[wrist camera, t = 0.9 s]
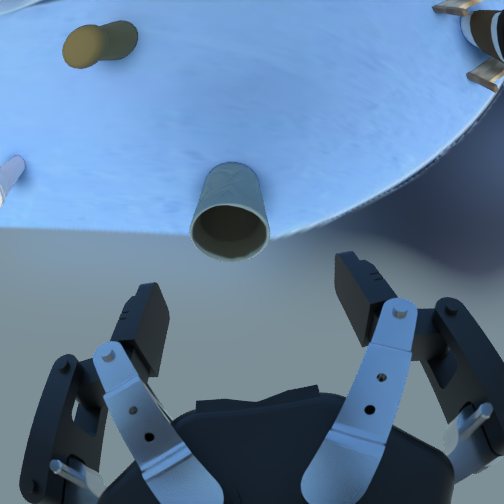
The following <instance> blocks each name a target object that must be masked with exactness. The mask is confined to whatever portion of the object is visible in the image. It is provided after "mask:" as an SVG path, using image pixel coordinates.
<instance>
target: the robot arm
mask: <svg viewBox="0 0 504 504" xmlns="http://www.w3.org/2000/svg"><path fill="white" fill-rule="evenodd" d="M334 281H335V290H336V294H337V296H338V298H339V300H340V302H341V304H342V306H343V308H344V310H345V312H346V314H347V316H348V318H349V320H350V322H351V325H352V327H353V329H354V331H355V333H356V335H357V337H358V339H359V341H360V343H361V346H362V347H365V346H368V347H367V350H366V353H365V355H364V358H363V361H362V363H361V365H360V368H359V370H358V373H357V375H356V377H355V380H354V382H353V385H352V387H351V389H350V391H349V394H348V396H347V398H346V397H344V396H340V395H337V394H332V393H319V389H318V386H317V385H313V386H308V387H304V388H298V389H293V390H287V391H285V392H282V393H280V394H277V395H275V396H272V397H269V398H267V399H264V400H261V401H258V402H249V401H239V400H231V399H216V400H203V401H196V409H195V410H192V411H189V412H186V413H185V414H183V415H181V416H179V417H178V418H176V419H175V420H173V419H172V417H171V416H170V415H169V413H168V412H167V411H166V409H165V408H164V406H163V405H162V404H161V402H160V401H159V399H158V398H157V396H156V395H155V394H154V392H153V390H152V389H151V387H150V386H149V385H148V383H147V382H148V378H149V377H158V374H159V368H160V364H161V358H162V353H163V348H164V344H165V339H166V334H167V330H168V325H169V320H170V317H169V311H168V307H167V305H166V302H165V300H164V298H163V295H162V293H161V290H160V288H159V286H158V284H157V283H155V282H154V283H147V284H141V285H140V286H139V288H138V290H137V293H136V295H135V296H132V297H131V298H130V299H129V300H128V301H127V302H126V304H125V305H124V308H123V310H122V314H121V315H120V317H119V320H118V322H117V325H116V327H115V330H114V332H113V335H112V337H111V340H110V342H106V343H104V344H102V345H101V346H99V347H98V348H97V349H96V351H95V353H94V355H93V358H91V359H88V360H84V361H81V362H79V361H78V360H77V359H76V357H75V356H73V355H71V354H67V355H64V356H61V357H60V358H58V359H57V360H56V362H55V363H54V365H53V367H52V369H51V372H50V374H49V377H48V379H47V382H46V385H45V388H44V390H43V393H42V396H41V399H40V402H39V405H38V408H37V411H36V414H35V417H34V421H33V424H32V428H31V431H30V435H29V438H28V442H27V447H26V451H25V455H24V460H23V465H22V470H21V475H20V482H19V487H20V491H21V493H22V495H23V497H24V498H25V499H26V500H27V501H28V502H30V503H32V504H451V498H452V493H453V489H454V484H456V483H458V482H460V481H461V480H463V479H465V478H467V477H468V476H470V475H472V474H477V473H479V472H481V471H483V470H484V469H486V468H488V467H489V466H491V465H493V464H494V463H496V462H497V461H499V460H501V459H502V458H503V457H504V362H503V361H502V359H501V357H500V356H499V354H498V353H497V351H496V350H495V348H494V347H493V345H492V344H491V342H490V341H489V339H488V338H487V336H486V335H485V334H484V332H483V330H482V329H481V328H480V326H479V325H478V324H477V322H476V321H475V319H474V318H473V317H472V315H471V314H470V313H469V311H468V310H467V309H466V307H465V306H464V305H463V304H462V303H461V302H460V301H459V300H457V299H454V298H450V297H445V298H441V299H440V300H438V301H437V303H436V306H435V308H434V309H417V308H416V306H415V305H414V304H413V303H412V302H411V301H409V300H407V299H403V298H398V297H397V295H396V294H395V293H394V291H393V290H392V288H391V287H390V286H389V284H388V283H387V282H386V280H385V279H383V277H382V275H381V274H380V273H379V271H378V270H377V269H376V267H375V266H374V265H373V264H371V263H369V262H368V261H366V260H359V259H358V257H357V256H356V255H355V253H354V252H353V251H348V252H342V253H337V254H336V255H335V280H334ZM450 349H451V350H450ZM411 361H420V362H421V364H422V366H423V368H424V370H425V373H426V375H427V377H428V379H429V381H430V383H431V385H432V387H433V390H434V392H435V394H436V396H437V399H438V401H439V403H440V406H441V408H442V410H443V413H444V415H445V418H446V420H447V423H448V426H447V427H446V429H445V432H444V447H445V450H444V453H443V452H442V451H440V450H439V449H437V448H435V447H433V446H431V445H429V444H427V443H425V442H423V441H421V440H420V439H418V438H416V437H414V436H412V435H410V434H408V433H407V432H405V431H403V430H401V429H400V428H398V427H396V426H394V425H393V422H394V419H395V416H396V413H397V409H398V406H399V403H400V400H401V397H402V393H403V390H404V386H405V382H406V378H407V374H408V370H409V366H410V362H411ZM75 400H77V401H78V403H79V404H78V408H77V412H76V416H75V420H74V422H73V420H72V409H73V406H74V402H75ZM108 409H109V411H110V413H111V416H112V418H113V420H114V422H115V424H116V426H117V428H118V430H119V432H120V433H121V435H122V437H123V439H124V441H125V443H126V445H127V446H128V448H129V450H130V452H131V453H132V455H133V457H134V459H135V461H134V462H133V463H132V464H131V465H130V466H129V467H128V468H127V469H126V470H125V471H124V472H123V473H122V474H121V475H120V476H119V477H118V478H117V479H116V480H115V481H114V482H112V484H111V485H109V486H108V487H107V488H106V486H105V485H104V483H103V479H102V477H101V475H100V474H99V465H100V457H101V450H102V443H103V436H104V430H105V424H106V419H107V413H108Z"/></svg>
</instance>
